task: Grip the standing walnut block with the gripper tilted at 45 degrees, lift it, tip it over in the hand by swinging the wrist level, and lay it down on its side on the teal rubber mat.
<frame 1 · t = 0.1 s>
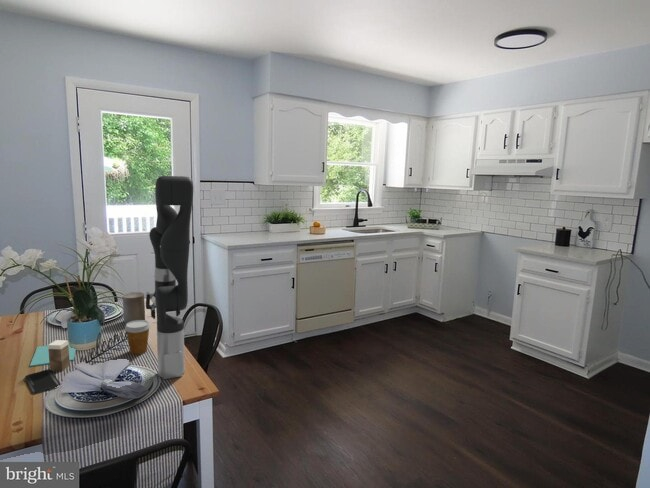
hand: (165, 316, 163), 17 cm above the table, tool pointing down, fingers open, 8 cm apart
pillar candle: (134, 321, 203), on the table
walnut block: (60, 368, 154), on the table
phone: (42, 383, 144), on the table
disposable coffee cup: (138, 351, 170), on the table
teal mat: (55, 354, 165), on the table
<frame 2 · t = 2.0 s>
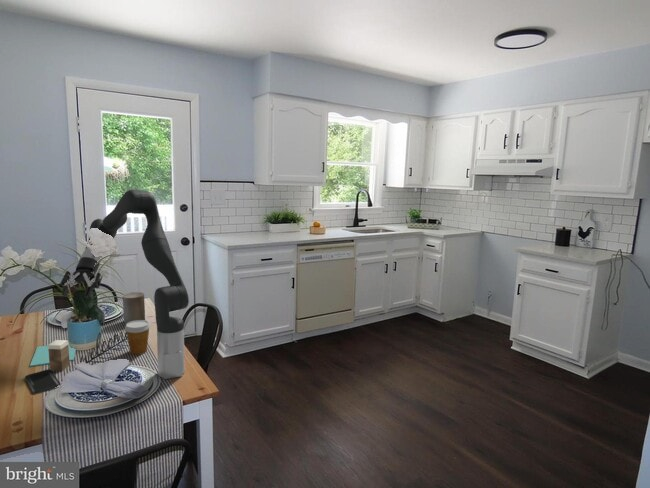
hand: (75, 296, 161), 24 cm above the table, tool tilted 45°, fingers open, 8 cm apart
nothing on the table moved.
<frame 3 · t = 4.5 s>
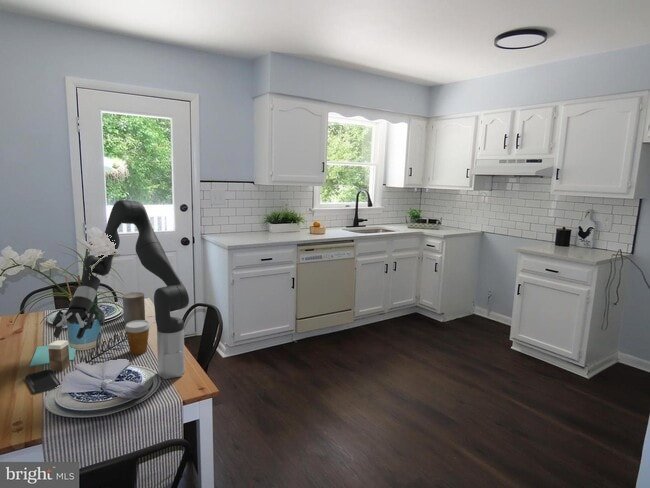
hand: (67, 337, 157), 10 cm above the table, tool tilted 45°, fingers open, 8 cm apart
nothing on the table moved.
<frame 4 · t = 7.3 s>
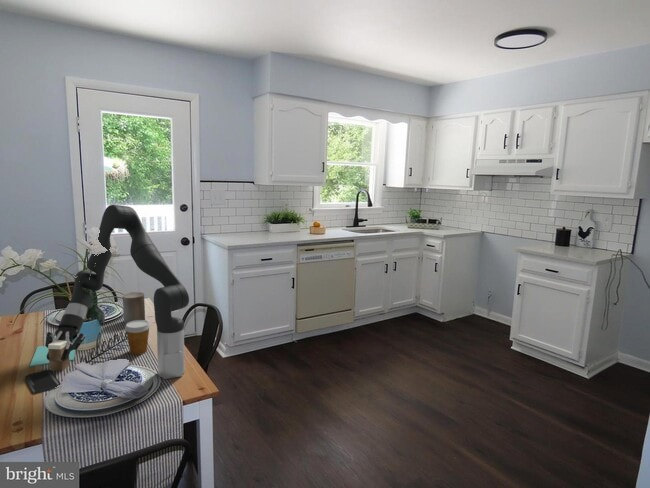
hand: (56, 359, 151), 4 cm above the table, tool tilted 45°, fingers closed on walnut block, 4 cm apart
walnut block: (60, 367, 154), on the table, touching gripper
everything else where it was.
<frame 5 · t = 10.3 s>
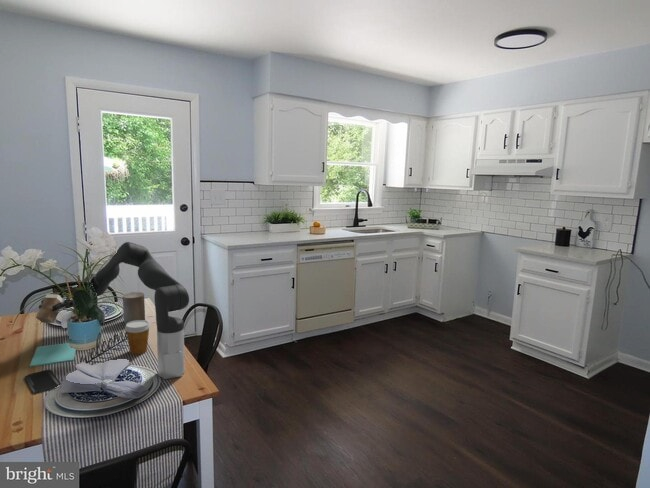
hand: (47, 308, 159), 20 cm above the table, tool horizontal, fingers closed on walnut block, 4 cm apart
walnut block: (44, 320, 158), point 16 cm above the table, tilted 45°, touching gripper
everything else where it was.
when the fingers open (10 cm above the table, at t = 13.1 s): walnut block drops 3 cm and tips over, resting on teal mat.
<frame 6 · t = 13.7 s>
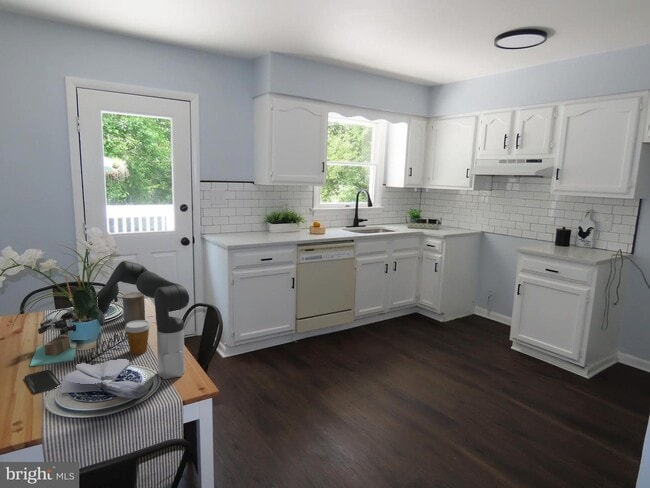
hand: (50, 332, 161), 10 cm above the table, tool horizontal, fingers open, 8 cm apart
walnut block: (50, 350, 162), point 3 cm above the table, tilted 90°, touching teal mat
everything else where it was.
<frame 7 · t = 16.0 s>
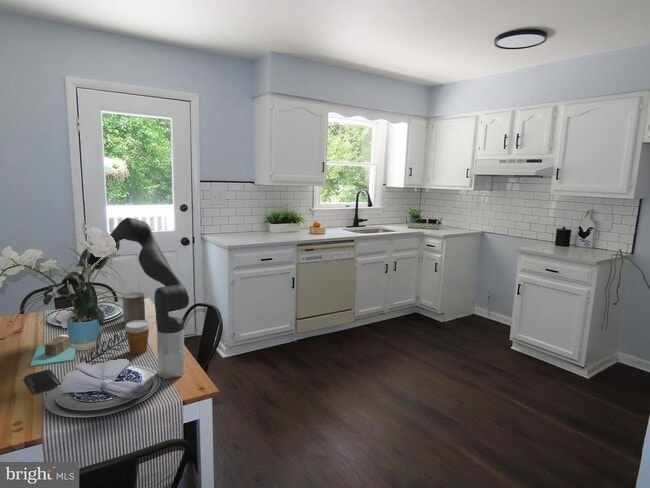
hand: (56, 302, 159), 22 cm above the table, tool tilted 70°, fingers open, 8 cm apart
nothing on the table moved.
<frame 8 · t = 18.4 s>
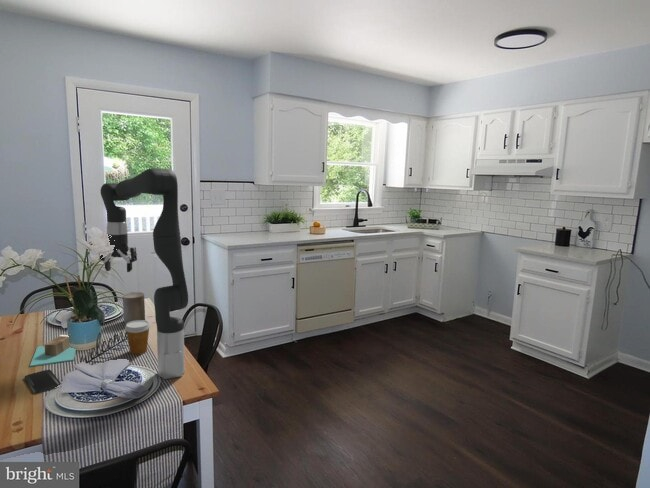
hand: (118, 271, 171), 32 cm above the table, tool pointing down, fingers open, 8 cm apart
nothing on the table moved.
at the end: walnut block tilted 90°; walnut block inside the target area on the teal mat (2.5 cm from its centre), point 2.7 cm above the teal mat's base; the gripper is holding nothing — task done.
